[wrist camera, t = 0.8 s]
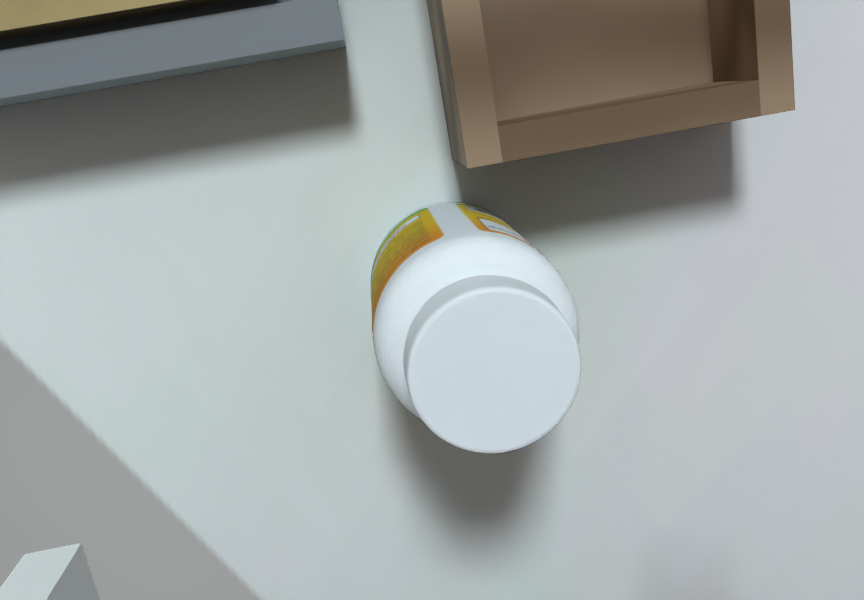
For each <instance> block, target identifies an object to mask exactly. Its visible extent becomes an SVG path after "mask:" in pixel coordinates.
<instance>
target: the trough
mask: <svg viewBox="0 0 864 600" xmlns="http://www.w3.org/2000/svg"><path fill="white" fill-rule="evenodd" d="M427 5H428V11H429V17H430V24H431V30H432V36H433V42H434V48H435V55H436V61H437V67H438V73H439V79H440V86H441V92H442V98H443V104H444V110H445V117H446V123H447V129H448V135H449V142H450V148H451V154H452V159H454V160H455V161H457V162H458V163H460V164H461V165H463V166H464V167H466V168H467V169H469V168H474V167H480V166H486V165H491V164H497V163H502V162H508V161H513V160H519V159H524V158H530V157H536V156H541V155H547V154H552V153H558V152H563V151H569V150H574V149H580V148H585V147H591V146H597V145H602V144H608V143H613V142H619V141H624V140H630V139H635V138H641V137H647V136H652V135H658V134H663V133H669V132H674V131H680V130H685V129H691V128H697V127H702V126H708V125H713V124H719V123H724V122H730V121H735V120H741V119H747V118H752V117H758V116H763V115H769V114H774V113H780V112H785V111H791V110H795V99H794V78H793V58H792V38H791V18H790V0H427Z"/></svg>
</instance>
